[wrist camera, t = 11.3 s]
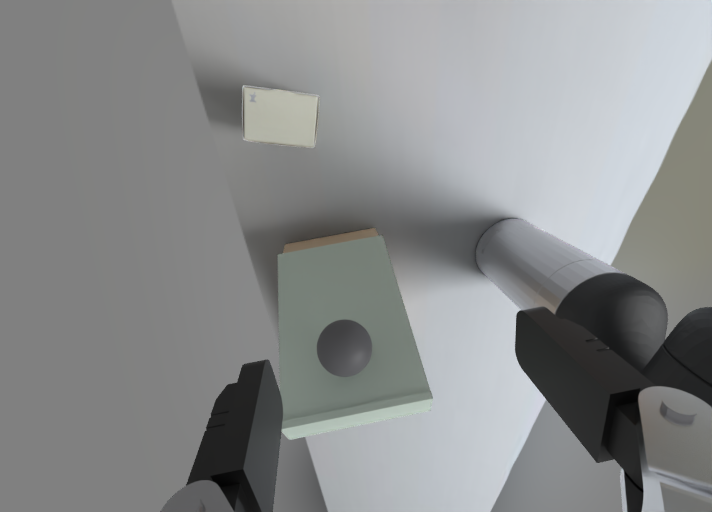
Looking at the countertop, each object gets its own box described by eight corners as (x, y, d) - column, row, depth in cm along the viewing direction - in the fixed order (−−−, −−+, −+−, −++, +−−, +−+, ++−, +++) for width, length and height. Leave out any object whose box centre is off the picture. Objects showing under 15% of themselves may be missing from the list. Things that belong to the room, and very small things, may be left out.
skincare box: (260, 133, 39) (237, 141, 28) (260, 91, 38) (237, 83, 27) (316, 139, 40) (316, 150, 29) (319, 99, 39) (320, 94, 28)
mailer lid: (284, 270, 42) (262, 216, 35) (383, 252, 42) (380, 194, 36) (289, 439, 29) (256, 405, 23) (430, 410, 30) (439, 369, 23)
